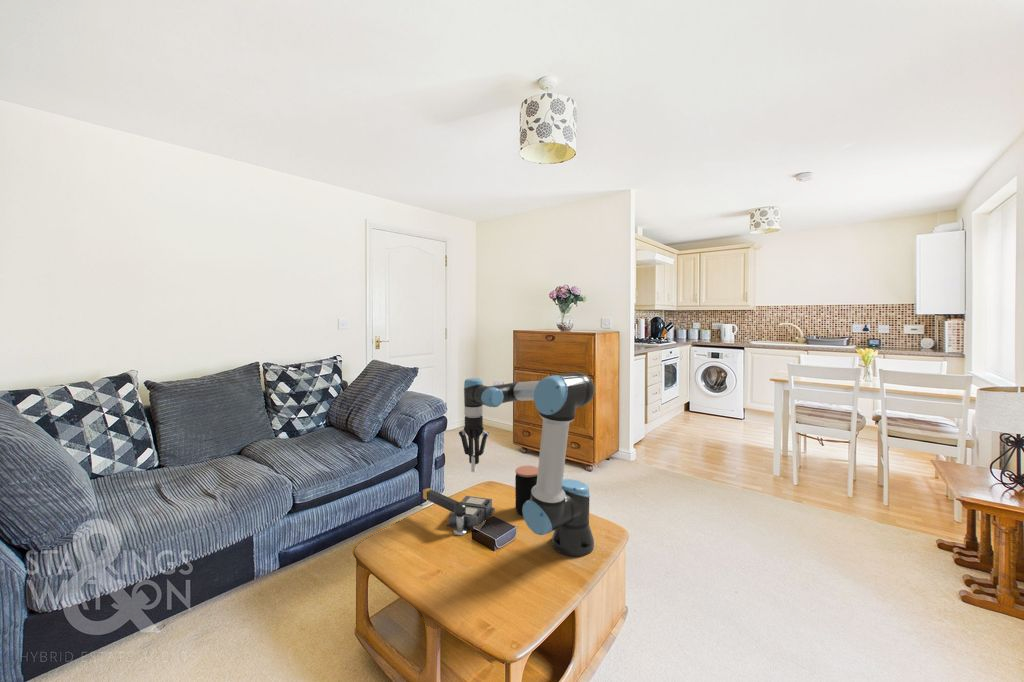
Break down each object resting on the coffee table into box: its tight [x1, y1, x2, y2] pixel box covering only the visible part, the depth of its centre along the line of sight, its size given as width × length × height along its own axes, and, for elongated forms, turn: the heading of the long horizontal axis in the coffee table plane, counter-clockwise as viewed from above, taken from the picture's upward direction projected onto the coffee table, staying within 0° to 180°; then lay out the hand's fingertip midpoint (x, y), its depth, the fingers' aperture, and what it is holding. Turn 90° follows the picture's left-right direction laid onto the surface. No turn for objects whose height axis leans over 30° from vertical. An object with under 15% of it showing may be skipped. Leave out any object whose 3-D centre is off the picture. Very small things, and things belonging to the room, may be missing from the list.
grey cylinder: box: [453, 515, 468, 537], centre depth 158 cm, size 5×5×7 cm
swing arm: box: [422, 487, 466, 516], centre depth 164 cm, size 24×4×4 cm, turn 49°
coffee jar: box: [514, 465, 538, 517], centre depth 174 cm, size 11×11×18 cm
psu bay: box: [446, 495, 496, 531], centre depth 169 cm, size 14×18×6 cm
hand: (474, 470), depth 172 cm, fingers closed
